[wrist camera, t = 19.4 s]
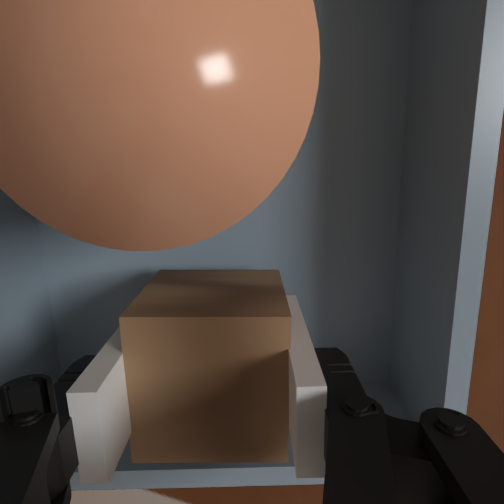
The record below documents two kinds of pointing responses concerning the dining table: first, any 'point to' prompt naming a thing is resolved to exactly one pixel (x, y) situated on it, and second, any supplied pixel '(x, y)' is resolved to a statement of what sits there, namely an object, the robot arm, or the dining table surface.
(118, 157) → the peach orange cylinder
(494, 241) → the dining table surface
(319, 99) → the tote
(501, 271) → the dining table surface
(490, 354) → the dining table surface
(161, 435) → the block
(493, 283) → the dining table surface
